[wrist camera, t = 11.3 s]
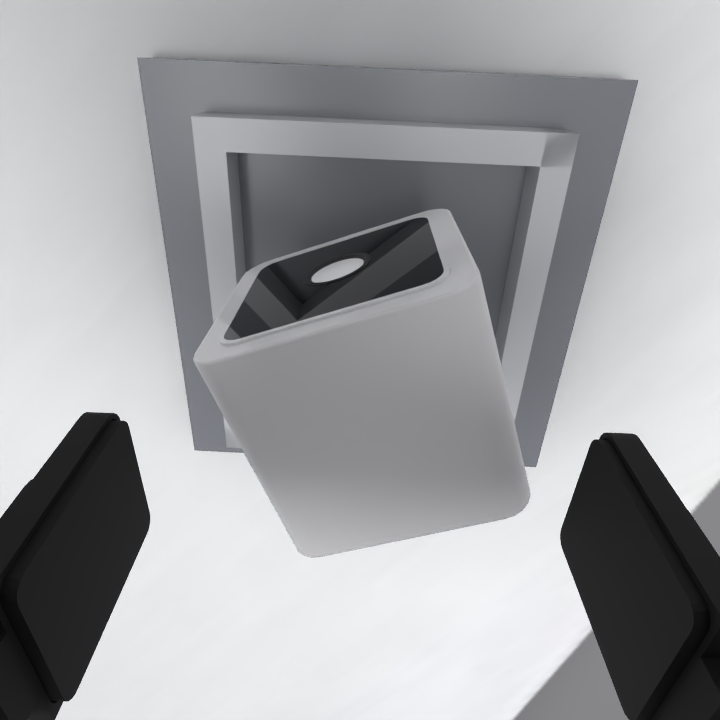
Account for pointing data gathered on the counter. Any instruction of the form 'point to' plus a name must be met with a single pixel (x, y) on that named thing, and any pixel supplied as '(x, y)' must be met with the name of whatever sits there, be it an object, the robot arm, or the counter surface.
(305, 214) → the mounting plate
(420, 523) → the security camera
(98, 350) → the counter surface
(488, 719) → the counter surface
